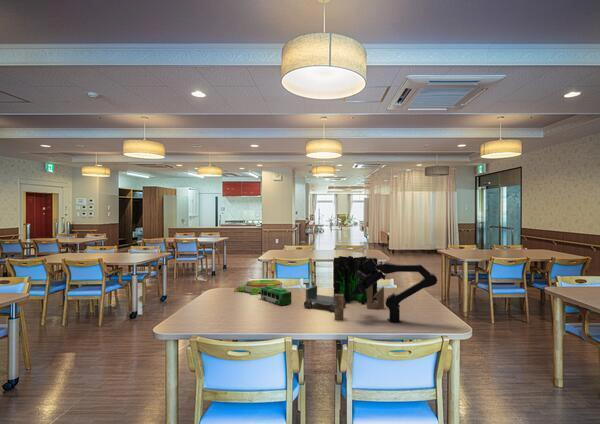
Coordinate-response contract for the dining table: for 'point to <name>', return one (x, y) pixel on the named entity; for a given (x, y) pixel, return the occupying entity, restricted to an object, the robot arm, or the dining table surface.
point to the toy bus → (276, 295)
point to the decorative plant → (350, 277)
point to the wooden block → (378, 295)
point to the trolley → (320, 299)
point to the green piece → (257, 285)
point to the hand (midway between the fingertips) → (352, 293)
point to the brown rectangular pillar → (338, 306)
